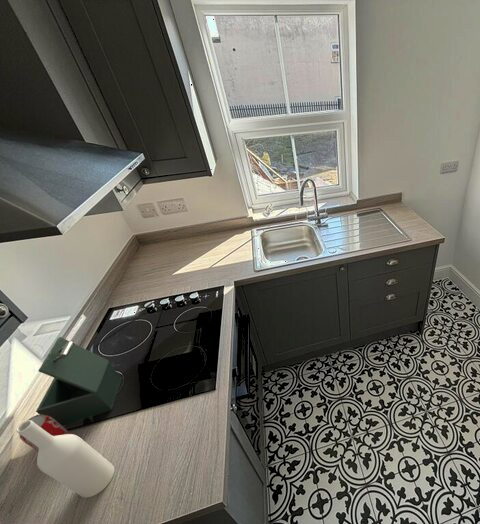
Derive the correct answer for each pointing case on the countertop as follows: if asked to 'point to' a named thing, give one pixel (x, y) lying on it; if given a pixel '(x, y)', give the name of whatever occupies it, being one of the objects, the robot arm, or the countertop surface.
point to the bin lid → (74, 365)
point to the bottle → (69, 460)
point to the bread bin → (80, 399)
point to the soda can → (46, 428)
